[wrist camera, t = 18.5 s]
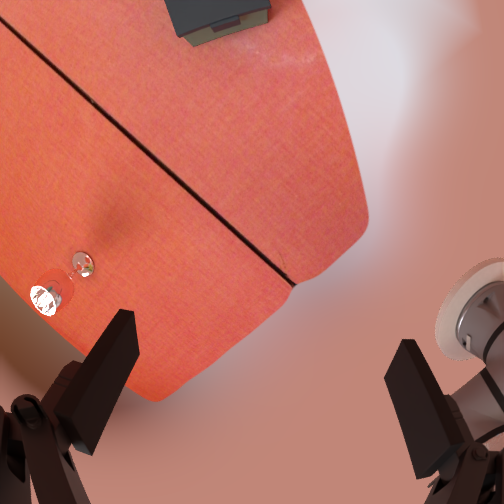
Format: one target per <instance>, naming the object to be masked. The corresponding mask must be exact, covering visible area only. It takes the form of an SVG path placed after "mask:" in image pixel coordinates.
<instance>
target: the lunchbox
mask: <svg viewBox="0 0 504 504" xmlns="http://www.w3.org/2000/svg"><path fill="white" fill-rule="evenodd" d="M164 1H165V4H166V6H167V9H168V12H169V15H170V18H171V21H172V23H173V26H174V29H175V32H176V35H177V36H178V37H179V38H181V37H184V38H185V39H186V40H187V41H188V42H189V43H190V44H191V45H192V46H193V47H194V46H197V45H200V44H202V43H205V42H208V41H211V40H213V39H216V38H219V37H222V36H225V35H228V34H231V33H234V32H238V31H241V30H244V29H248V28H251V27H255V26H258V25H262V24H266V23H268V9H270V8H271V4H270V2H269V0H164Z"/></svg>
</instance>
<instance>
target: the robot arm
mask: <svg viewBox="0 0 504 504" xmlns="http://www.w3.org/2000/svg"><path fill="white" fill-rule="evenodd" d="M455 334H456V338H457V340H458V342H459V343H460V345H461V346H462V347H463V348H464V349H465V350H467V351H468V352H470V353H471V354H473V355H475V356H476V357H478V358H480V359H481V360H483V362H484V363H485V364H486V367H485V368H484V369H483V370H482V371H480V372H479V373H478V374H477V375H476V376H475V377H473V378H472V379H471V380H470V381H469V382H467V383H466V384H465V385H464V386H462V387H461V388H460V389H459V390H458V391H456V392H455V393H454V394H452V395H451V396H450V395H449V394H448V395H443V393H442V391H441V389H440V387H439V385H438V383H437V381H436V379H435V377H434V375H433V373H432V371H431V369H430V367H429V365H428V363H427V362H426V360H425V358H424V356H423V354H422V352H421V350H420V348H419V347H418V345H417V343H416V341H415V340H414V339H402V341H401V343H400V346H399V347H398V350H397V352H396V354H395V356H394V358H393V360H392V362H391V364H390V366H389V369H388V371H387V373H386V375H385V377H384V379H385V382H386V385H387V388H388V391H389V394H390V397H391V399H392V402H393V405H394V408H395V411H396V414H397V417H398V420H399V423H400V426H401V429H402V432H403V435H404V439H405V442H406V445H407V448H408V452H409V455H410V458H411V461H412V465H413V469H414V472H415V475H416V479H421V478H426V477H430V476H432V475H433V474H434V473H435V472H436V471H437V470H438V471H439V474H440V475H439V476H438V477H437V478H435V479H434V480H433V481H432V482H431V483H430V484H429V485H428V488H429V487H430V486H432V485H433V487H432V489H431V491H430V493H429V495H428V497H427V499H426V501H425V503H424V504H504V282H503V281H494V282H491V283H488V284H486V285H485V286H483V287H482V288H480V289H479V290H478V291H477V292H475V293H474V294H473V295H472V297H471V298H470V299H469V300H468V301H467V303H466V304H465V306H464V307H463V309H462V311H461V313H460V315H459V317H458V320H457V323H456V329H455ZM139 355H140V352H139V346H138V339H137V331H136V324H135V315H134V311H129V310H124V309H119V311H118V312H117V313H116V315H115V316H114V318H113V319H112V321H111V322H110V323H109V325H108V326H107V328H106V329H105V331H104V332H103V333H102V335H101V336H100V338H99V339H98V341H97V342H96V344H95V345H94V347H93V348H92V350H91V351H90V353H89V354H88V356H87V357H86V359H85V360H84V362H83V363H80V362H77V361H72V362H70V363H69V364H67V365H66V366H64V368H63V369H62V371H61V372H60V374H59V376H58V377H57V378H56V379H55V381H54V384H52V385H51V387H50V388H49V390H48V391H47V393H46V394H45V396H44V397H43V399H42V400H41V402H40V401H39V399H38V398H36V397H35V396H33V395H30V394H25V395H21V396H19V397H17V398H16V399H15V400H14V401H13V403H12V405H11V412H12V413H8V412H5V411H4V409H3V408H2V407H1V406H0V504H32V503H31V489H30V475H31V479H32V482H33V486H34V489H35V492H36V496H37V498H38V502H39V504H91V503H90V501H89V499H88V497H87V494H86V492H85V490H84V487H83V485H82V482H81V480H80V478H79V475H78V472H77V470H76V467H75V465H74V462H73V459H72V456H71V453H70V451H69V450H68V449H69V447H70V445H71V443H72V444H73V446H74V448H75V449H76V450H78V451H80V452H83V453H86V454H88V455H91V456H92V455H93V453H94V451H95V448H96V446H97V444H98V441H99V439H100V437H101V435H102V432H103V430H104V428H105V426H106V423H107V421H108V419H109V417H110V415H111V413H112V411H113V408H114V406H115V404H116V402H117V400H118V397H119V396H120V393H121V391H122V389H123V387H124V385H125V383H126V381H127V379H128V377H129V375H130V373H131V371H132V369H133V367H134V365H135V363H136V361H137V359H138V357H139Z"/></svg>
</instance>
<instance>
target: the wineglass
mask: <svg viewBox="0 0 504 504" xmlns="http://www.w3.org/2000/svg"><path fill="white" fill-rule="evenodd" d="M72 263H73V267H74V269H75V270H74V271H72V272H71V273H68V274H67V273H66V272H65V271H63V270H61V269H51V270H48V271H47V272H45V273H44V274H43V275H42V276H41V277H40V278H39V279H38V280H37V282H36V283H35V285H34V287H33V288H32V291H31V297H32V301H33V303H34V305H35V306H36V307H37V309H38V310H39V311H40V312H42V313H43V314H46V315H53V314H54V313H56V312H58V311H60V310H61V309H63V308H64V307H66V306H67V305H68V304H69V302H70V301H71V299H72V298H73V295H74V284H73V281H72V277H73V275H74V274H75V273H76V272H77V273H79V274H80V275H82V276H90V275H91V274H92V273H93V271H94V265H93V262H92V260H91V258H90V257H89V256H88V255H87V254H85V253H83V252H77V253H75V254H74V256H73V259H72Z"/></svg>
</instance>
